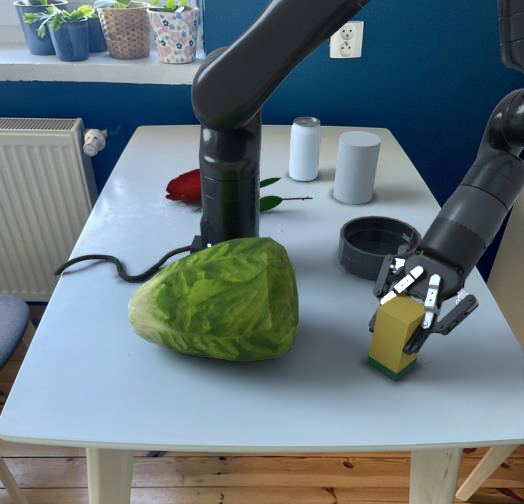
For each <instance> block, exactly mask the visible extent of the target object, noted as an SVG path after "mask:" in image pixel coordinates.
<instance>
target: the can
mask: <svg viewBox="0 0 524 504" xmlns="http://www.w3.org/2000/svg"><path fill="white" fill-rule="evenodd" d="M321 143H322V125H321V120H320V119H318V118H316V117H312V116H300V117H296V118H294V120H293V124H292V126H291V128H290V144H289V163H288V164H289V165H288V176H289V177H290V178H291V179H292V180H294V181H297V182H302V183H308V182H312V181H314V180H316V178H318V175H319V164H320V154H321Z"/></svg>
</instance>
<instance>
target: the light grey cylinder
mask: <svg viewBox="0 0 524 504" xmlns="http://www.w3.org/2000/svg"><path fill="white" fill-rule="evenodd" d="M381 143H382V138H381V136H379V135H378V134H375V133H373V132H369V131H364V130H351V131H345V132H343V133H341V134H340V135H339V139H338V149H337V158H336V167H335V175H334V176H335V177H334V184H333V185H334V186H333V197H334V199H336V200H337V201H338V202H341V203H344V204H349V205H362V204H366V203H368V202H371V200H372V199H373V192H374V188H375V187H374V186H375V182H376V181H375V180H376V173H377V168H378V164H379V163H378V162H379V156H380V151H381V150H380V149H381Z"/></svg>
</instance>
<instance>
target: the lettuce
mask: <svg viewBox="0 0 524 504" xmlns="http://www.w3.org/2000/svg"><path fill="white" fill-rule="evenodd" d="M291 261H292V260H291V259H290V257H289V254H288V252H287V249H286V247H285V246H284V245H282V244H281V243H279V242H278V241H277V240H275V239H273V238H272V237H271V236H259V237H251V238H240V239H233V240H229V241H225V242H221V243H218V244H215V245H213V246H210V247H208V248H206V249H203V250H200V251H198V252H195V253H192V254H190V253H189V254H187V255H185V256H183V257H181V258H179V259H177V260H174V261H173V262H171V263H169V264H167V265H166V266H164V267H163V268H162V269H161V270H160V271H158V272H157V273H156V274H155V275H154V276H153V277H152V278H150V279H149V280H147V281H146V282H144V283H142V284H141V285H140V286H139V287H138V288H137V289H136V290H135V292H134V293H133V294H132V296H131V298H130V299H129V301H128V305H127V316H128V323H129V326H130V328H131V330H132V331H133V332H134V333H135V334H136V335H137V336H139V337H140V338H141V339H143V340H144V341H147V342H148V343H152V344H155V345H159V346H163V347H166V348H168V349H171V350H173V351H176V352H180V353H182V354H187V355H191V356H192V355H193V356H197V357H201V358H214V359H221V360H226V361H233V362H234V361H235V362H251V361H252V362H253V361H264V360H271V359H278V358H282V357H284V355H285V354H286V353H287V352H288V351H289V350H290V349H291V348H293V346H294V344H295V342H296V336H297V332H298V327H299V323H300V307H299V305H300V304H299V302H300V301H299V300H300V299H299V291H298V284H297V278H296V274H295V273H296V272H295V268H294V266H293V263H292V262H291Z"/></svg>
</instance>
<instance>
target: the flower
mask: <svg viewBox="0 0 524 504" xmlns="http://www.w3.org/2000/svg"><path fill="white" fill-rule="evenodd" d="M281 179H282V177H276V176H275V177H268V178H265V179H262V180H260V189H262V188H265V187H268V186H271V185H272V184H275V183H276V182H278V181H280V180H281ZM165 192H166V193H168V194H165V195H164V198H165V199H167V200H168V201H169V200H170V201H172V202H178V201H181V202H188V203H190V202H191V203H199V205H200V207H199V208H197V209H195V212H197V211H200V210H201V209H202V195H201V180H200V168H195V169H192V170H189V171H187V172H184V173H182V174H179V175H178V176H177V177H175V178H172V179H171V180H170V181H169V182H167V185H166V188H165ZM313 199H314V197H309V196H305V197H285V198H283V197H281V196H277V195H266V196H263V197H261V196H260V213H263V212H268V211H271V210H272V209H275V208H276V207H278V206H280V204H281V203H282V202H283V201H297V200H298V201H299V200H301V201H305V200H313Z"/></svg>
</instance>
